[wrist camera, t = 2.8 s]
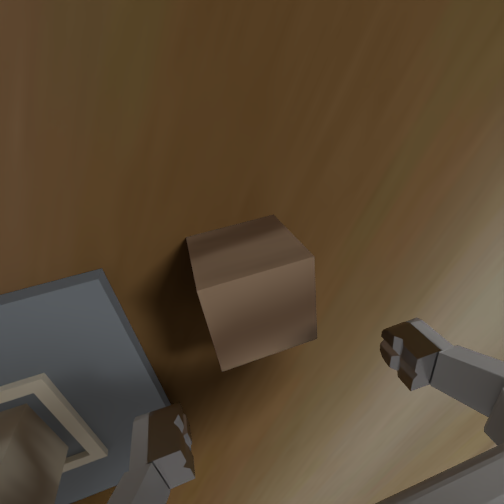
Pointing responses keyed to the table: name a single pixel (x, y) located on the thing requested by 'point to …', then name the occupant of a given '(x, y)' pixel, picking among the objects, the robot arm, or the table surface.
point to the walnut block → (254, 289)
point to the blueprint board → (77, 375)
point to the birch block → (29, 458)
